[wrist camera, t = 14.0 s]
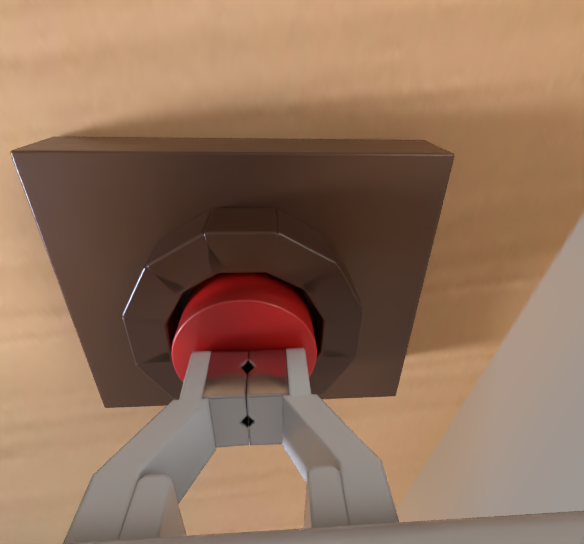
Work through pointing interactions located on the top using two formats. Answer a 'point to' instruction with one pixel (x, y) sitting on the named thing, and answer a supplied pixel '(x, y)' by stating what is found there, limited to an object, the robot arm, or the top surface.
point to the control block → (236, 245)
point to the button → (243, 318)
